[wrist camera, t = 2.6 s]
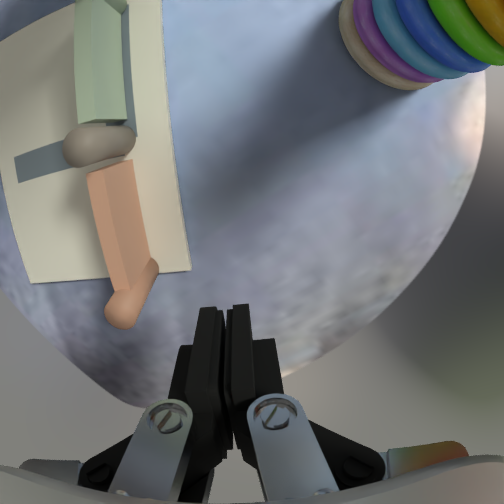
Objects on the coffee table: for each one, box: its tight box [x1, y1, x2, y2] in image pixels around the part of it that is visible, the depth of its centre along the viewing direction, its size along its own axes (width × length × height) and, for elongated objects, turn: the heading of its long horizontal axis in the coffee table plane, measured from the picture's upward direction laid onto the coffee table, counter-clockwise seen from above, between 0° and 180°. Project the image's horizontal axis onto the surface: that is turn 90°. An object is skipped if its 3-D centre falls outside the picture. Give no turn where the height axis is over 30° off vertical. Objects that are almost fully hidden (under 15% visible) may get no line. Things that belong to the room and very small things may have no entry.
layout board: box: [0, 0, 192, 283], centre depth 16 cm, size 20×14×1 cm
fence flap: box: [62, 125, 159, 330], centre depth 15 cm, size 10×2×6 cm, turn 5°
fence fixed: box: [74, 0, 127, 124], centre depth 11 cm, size 9×2×6 cm, turn 5°
